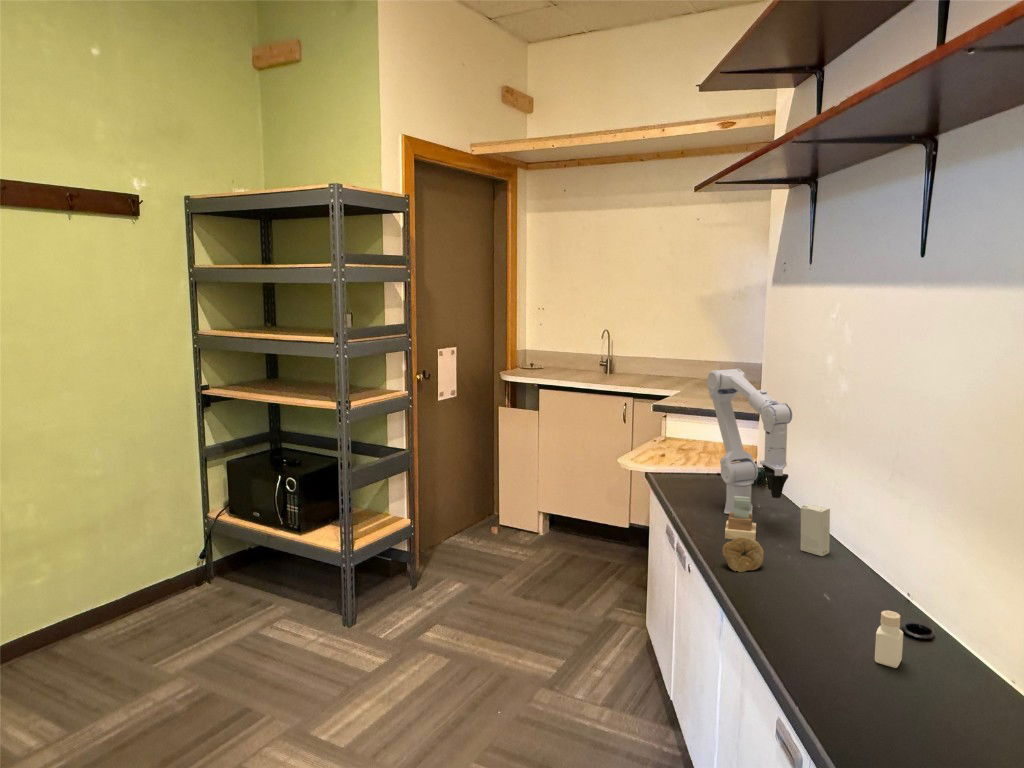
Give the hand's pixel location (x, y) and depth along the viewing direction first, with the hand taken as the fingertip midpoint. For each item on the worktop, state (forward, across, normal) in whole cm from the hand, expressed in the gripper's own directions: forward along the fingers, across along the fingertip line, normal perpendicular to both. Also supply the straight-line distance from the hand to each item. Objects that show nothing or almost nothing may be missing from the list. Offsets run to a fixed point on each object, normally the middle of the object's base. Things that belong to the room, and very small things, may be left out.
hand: (774, 493), depth 202 cm
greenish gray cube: (+5, +6, -9) cm, 12 cm away
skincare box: (+11, +16, +8) cm, 21 cm away
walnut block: (+8, +6, -10) cm, 14 cm away
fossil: (+11, +29, -11) cm, 33 cm away
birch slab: (+11, +6, -10) cm, 16 cm away
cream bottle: (+11, +70, +11) cm, 72 cm away
